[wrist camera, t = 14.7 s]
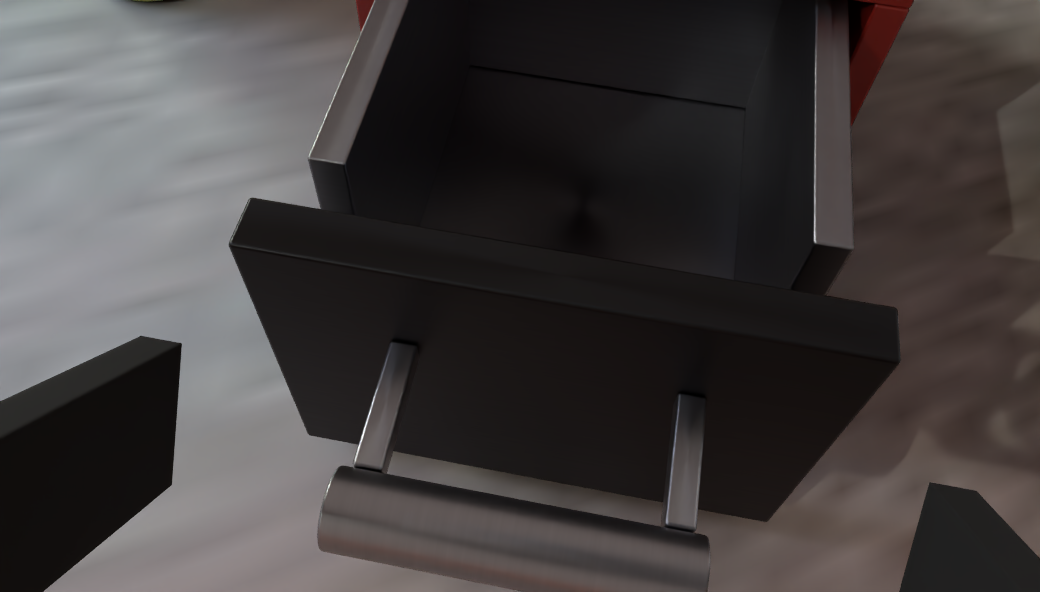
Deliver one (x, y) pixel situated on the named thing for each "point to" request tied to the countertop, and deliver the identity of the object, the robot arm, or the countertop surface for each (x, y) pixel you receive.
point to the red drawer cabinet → (872, 31)
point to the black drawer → (573, 278)
